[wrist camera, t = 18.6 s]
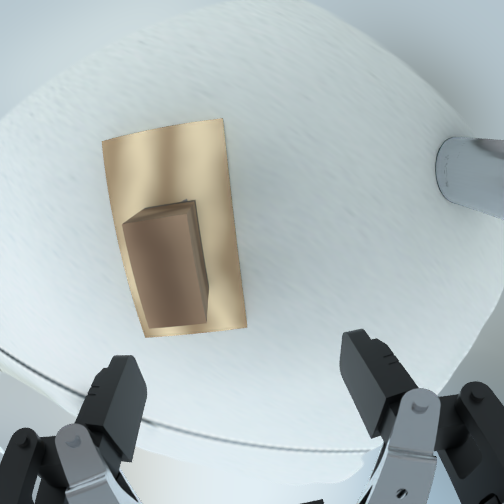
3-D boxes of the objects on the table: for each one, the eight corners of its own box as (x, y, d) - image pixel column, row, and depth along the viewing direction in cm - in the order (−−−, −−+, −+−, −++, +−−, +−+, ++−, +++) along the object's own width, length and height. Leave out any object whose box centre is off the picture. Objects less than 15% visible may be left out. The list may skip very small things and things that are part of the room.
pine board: (222, 121, 26) (222, 118, 24) (245, 318, 33) (247, 327, 31) (109, 142, 25) (101, 141, 23) (148, 328, 32) (145, 337, 30)
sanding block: (195, 199, 26) (186, 213, 20) (209, 286, 29) (206, 323, 23) (145, 207, 26) (121, 224, 19) (162, 292, 29) (149, 328, 22)
